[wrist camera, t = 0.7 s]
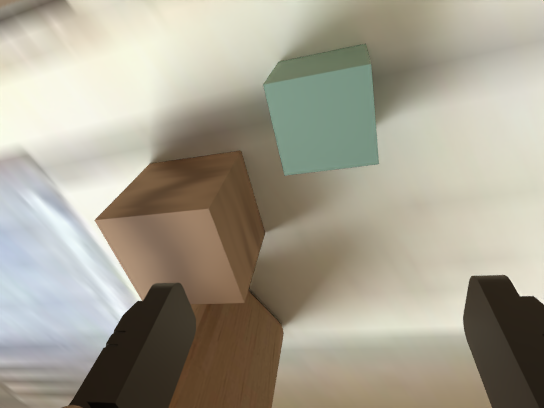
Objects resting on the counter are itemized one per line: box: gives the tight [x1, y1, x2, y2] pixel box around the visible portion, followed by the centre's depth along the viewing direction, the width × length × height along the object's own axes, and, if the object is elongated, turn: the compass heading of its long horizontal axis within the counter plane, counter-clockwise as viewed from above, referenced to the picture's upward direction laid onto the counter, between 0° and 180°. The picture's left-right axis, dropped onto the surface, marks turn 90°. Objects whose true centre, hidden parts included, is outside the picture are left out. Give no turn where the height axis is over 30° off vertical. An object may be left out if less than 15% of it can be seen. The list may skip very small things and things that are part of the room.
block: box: [169, 291, 284, 408], centre depth 30 cm, size 10×10×20 cm
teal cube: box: [263, 44, 379, 176], centre depth 22 cm, size 6×6×6 cm
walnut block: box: [95, 151, 265, 304], centre depth 27 cm, size 8×8×8 cm
